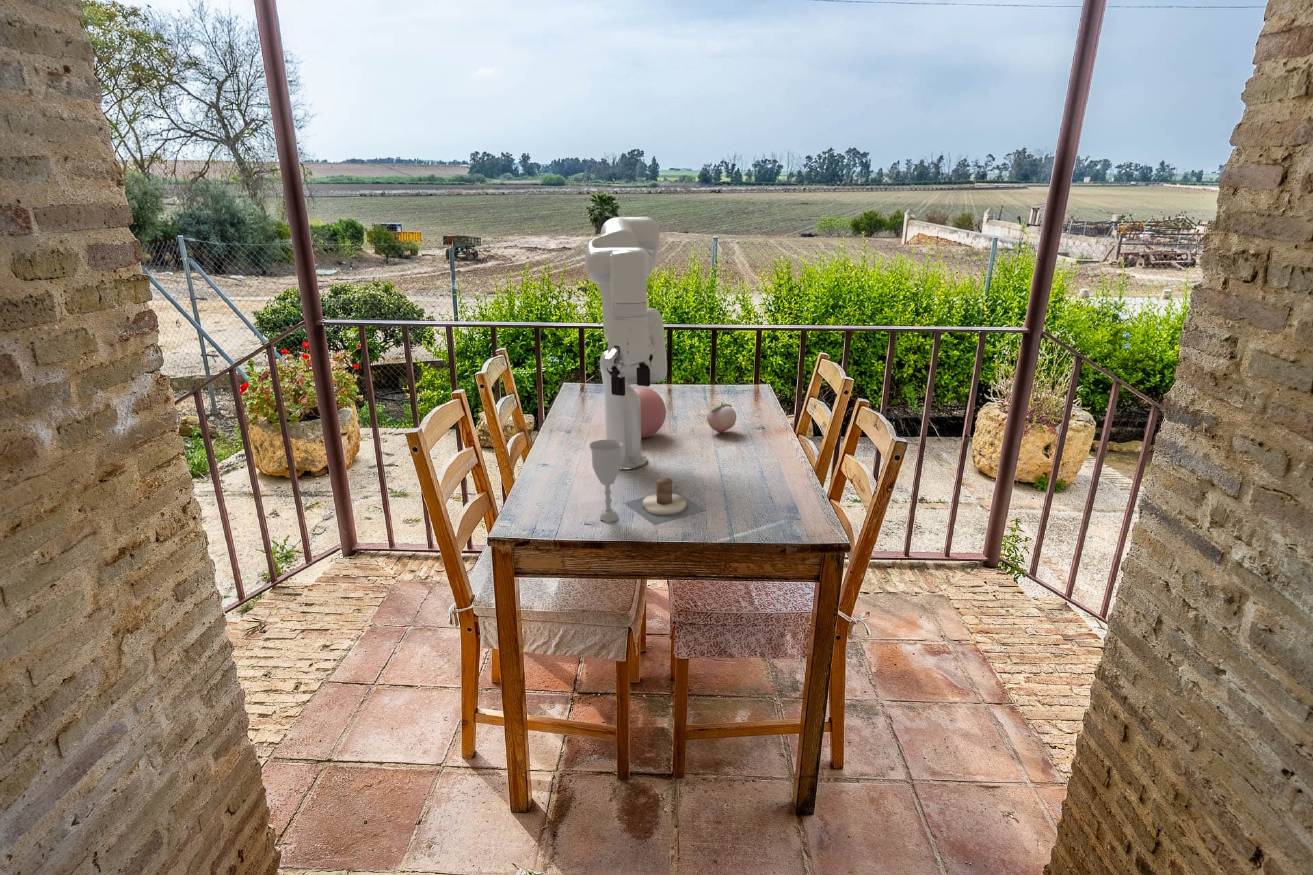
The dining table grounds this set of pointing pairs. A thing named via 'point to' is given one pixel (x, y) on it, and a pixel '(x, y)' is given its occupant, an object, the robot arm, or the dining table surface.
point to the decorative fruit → (721, 417)
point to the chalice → (606, 470)
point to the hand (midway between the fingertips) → (631, 390)
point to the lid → (664, 500)
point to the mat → (657, 519)
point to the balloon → (650, 411)
